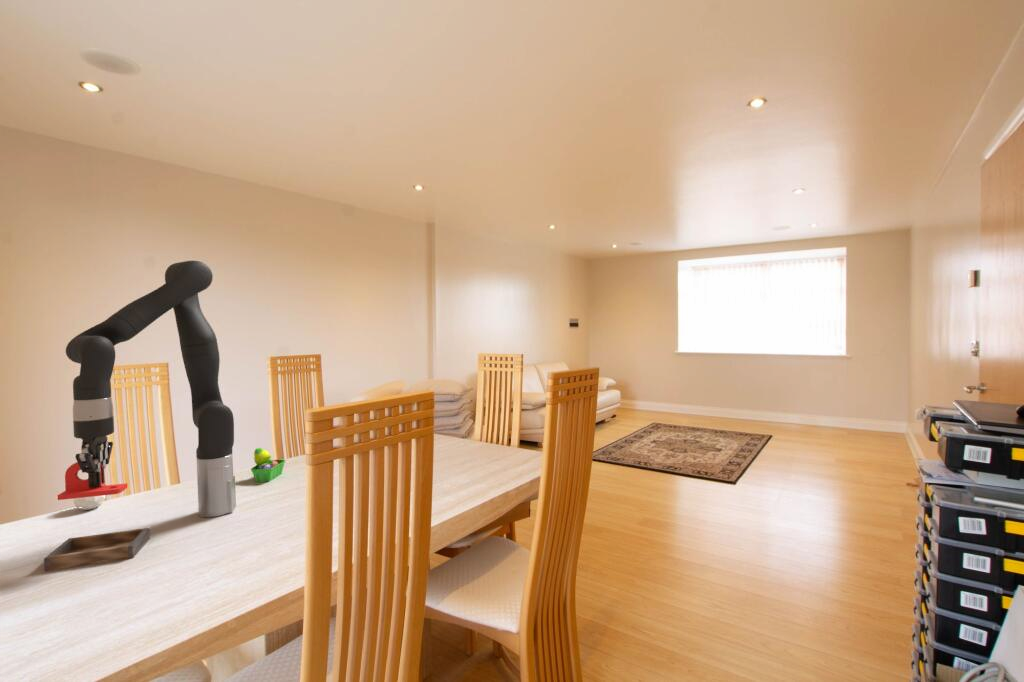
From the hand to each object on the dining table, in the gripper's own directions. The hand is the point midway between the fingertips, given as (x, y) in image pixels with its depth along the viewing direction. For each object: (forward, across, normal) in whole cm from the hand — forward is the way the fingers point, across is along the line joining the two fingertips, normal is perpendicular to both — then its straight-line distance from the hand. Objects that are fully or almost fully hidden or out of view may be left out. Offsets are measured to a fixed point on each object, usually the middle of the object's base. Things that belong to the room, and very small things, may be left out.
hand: (96, 485), depth 119 cm
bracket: (+2, -2, 0) cm, 2 cm away
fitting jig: (+17, 0, 0) cm, 17 cm away
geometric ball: (+17, +37, +17) cm, 45 cm away
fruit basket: (+17, +50, -31) cm, 61 cm away
